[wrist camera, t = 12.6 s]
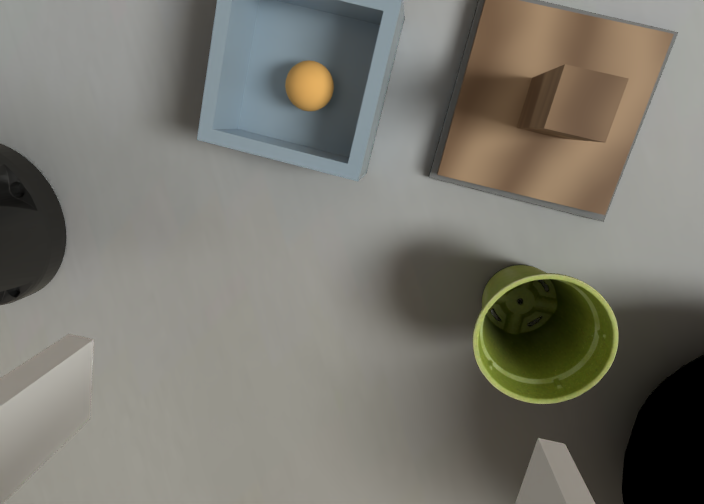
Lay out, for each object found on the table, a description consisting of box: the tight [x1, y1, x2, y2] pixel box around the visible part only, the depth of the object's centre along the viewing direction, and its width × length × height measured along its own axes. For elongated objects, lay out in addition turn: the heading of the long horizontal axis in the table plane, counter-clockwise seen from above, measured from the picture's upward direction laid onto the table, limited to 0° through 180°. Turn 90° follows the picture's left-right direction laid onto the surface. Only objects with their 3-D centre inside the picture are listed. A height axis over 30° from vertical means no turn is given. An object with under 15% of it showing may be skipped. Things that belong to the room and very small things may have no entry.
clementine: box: [285, 60, 334, 111], centre depth 36 cm, size 4×4×4 cm
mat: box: [429, 0, 678, 222], centre depth 37 cm, size 14×14×1 cm
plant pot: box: [473, 265, 618, 404], centre depth 37 cm, size 9×9×9 cm
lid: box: [437, 0, 674, 215], centre depth 32 cm, size 13×13×9 cm
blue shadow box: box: [197, 0, 405, 181], centre depth 36 cm, size 12×12×6 cm
